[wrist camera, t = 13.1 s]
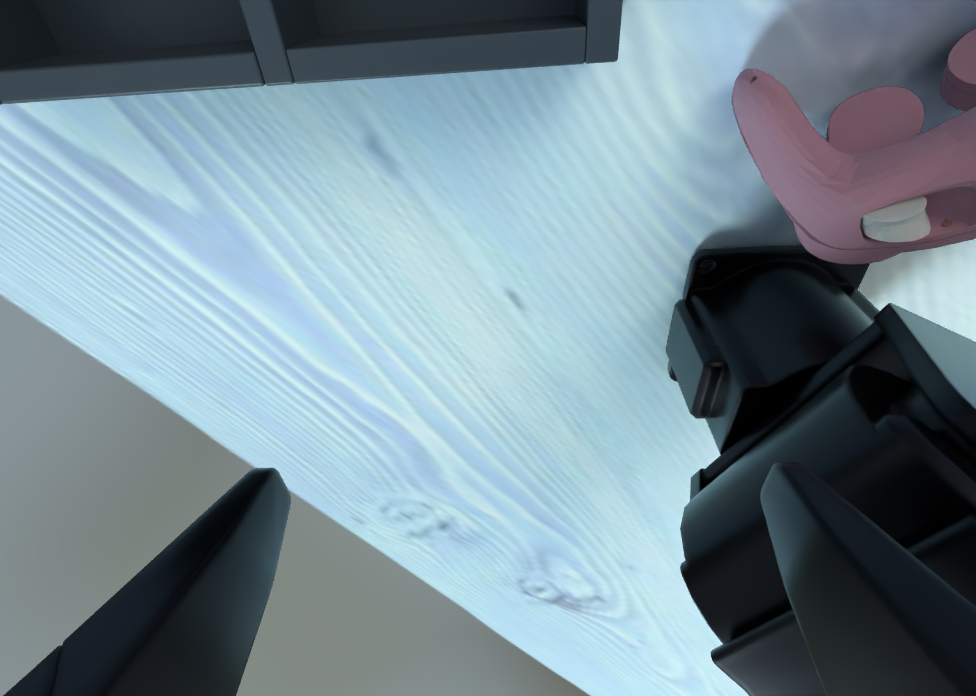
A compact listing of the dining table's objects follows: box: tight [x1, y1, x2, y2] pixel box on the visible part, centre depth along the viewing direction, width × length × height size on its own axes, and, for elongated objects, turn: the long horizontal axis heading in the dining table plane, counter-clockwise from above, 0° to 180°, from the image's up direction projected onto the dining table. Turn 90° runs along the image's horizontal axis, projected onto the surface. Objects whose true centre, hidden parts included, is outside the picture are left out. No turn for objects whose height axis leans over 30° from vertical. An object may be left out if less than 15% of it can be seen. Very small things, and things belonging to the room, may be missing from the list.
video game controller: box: [732, 28, 976, 264], centre depth 13 cm, size 10×5×7 cm, turn 124°
